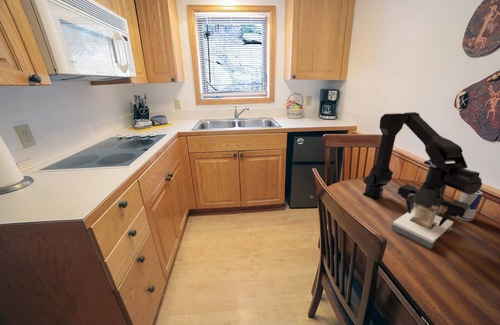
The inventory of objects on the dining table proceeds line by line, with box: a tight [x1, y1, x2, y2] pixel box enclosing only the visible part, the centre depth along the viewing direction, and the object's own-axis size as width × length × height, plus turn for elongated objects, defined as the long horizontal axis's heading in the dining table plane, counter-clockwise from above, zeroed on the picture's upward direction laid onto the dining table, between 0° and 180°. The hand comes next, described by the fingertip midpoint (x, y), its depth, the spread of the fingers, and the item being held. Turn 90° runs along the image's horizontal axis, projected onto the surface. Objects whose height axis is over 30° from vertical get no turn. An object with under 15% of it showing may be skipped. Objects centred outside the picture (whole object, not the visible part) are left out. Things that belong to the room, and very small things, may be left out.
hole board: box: [390, 207, 454, 250], centre depth 77 cm, size 12×18×4 cm, turn 122°
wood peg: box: [412, 205, 438, 230], centre depth 76 cm, size 4×4×10 cm
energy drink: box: [456, 189, 484, 222], centre depth 82 cm, size 5×5×12 cm
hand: (424, 219), depth 76 cm, fingers open, 9 cm apart
